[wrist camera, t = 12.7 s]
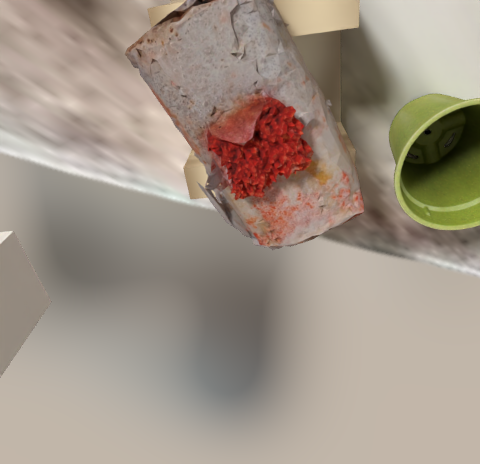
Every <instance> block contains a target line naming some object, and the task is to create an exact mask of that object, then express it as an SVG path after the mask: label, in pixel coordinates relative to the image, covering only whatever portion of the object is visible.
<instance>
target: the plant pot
mask: <svg viewBox="0 0 480 464" xmlns="http://www.w3.org/2000/svg"><path fill="white" fill-rule="evenodd" d="M427 129H429V130H431V132H430V134H429V135H426V134H425V133H424V132H425V130H427ZM453 133H455V136H454V139H453V141H452V142H451V144H450V145H449V146H447V147H444V145H445V144H446V143H447V141H448V140H449V139H450V138H451V136H452V135H453ZM389 142H390V147H391V150H392V153H393V156H394V159H395V163H396V168H395V173H394V189H395V193H396V197H397V199H398V202H399V204H400V206H401V207H402V209H403V210H404V211H405V212H406V214H407V215H408V216H409V217H411V218H412V219H413V220H415V221H416V222H418V223H420V224H422V225H425V226H427V227H430V228H434V229H439V230H462V229H467V228H472V227H475V226H479V225H480V98H476V99H470V100H463V99H459V98H455V97H451V96H447V95H442V94H428V95H425V96H422V97H420V98H417V99H415V100H413V101H411V102H409V103H408V104H406V105H405V106H404V107H403V108H402V109H401V110H400V111H399V112H398V113H397V115H396V116H395V118H394V120H393V122H392V124H391V127H390V132H389ZM408 152H409V153H411V154H412V155H416V156H419V157H418V158H416V159H413V158H410V157H407V156H406V155H407V153H408Z"/></svg>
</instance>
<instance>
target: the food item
mask: <svg viewBox="0 0 480 464" xmlns="http://www.w3.org/2000/svg"><path fill="white" fill-rule="evenodd" d="M288 25H289V24H286V23H284V20H283V18H282V16H281V14H280V12H279V10H278V9H277V7H276V5H275V3H274V0H186V1H185V2H184V3H183V4H182V5H181V6H179V7H178V8H177V9H175V10H174V11H172V12H170V13H169V14H167V16H166V17H165V18H163V19H162V20H161V21H160V22H158V23H157V24H156V25H155V26H154V27H152V28H151V29H150V30H149V31H148V32H146V33H145V34H144V35H143V36H142V37H141V38H140V39H139V40H138V41H137V42H135V43H134V44H133V45H131V46H130V47H129V48H128V49H127V51H126V53H125V55H126V56H127V57H128V59H129V60H130V61H131V63H132V65H133V66H134V67H135V68H139V71H140V75H141V77H142V78H143V79H144V80H145V82H146V83H147V84H148V86H149V87H150V89H151V90H152V92H153V93H154V95H155V96H156V98H157V99H158V101H159V102H160V104H161V105H162V106H163V108H164V109H165V111H166V112H167V113H168V115H169V116H170V118H171V119H172V121H173V123H174V125H175V126H176V128H177V129H178V130H179V131H180V132H181V133H182V135H183V136H184V138H185V139H186V141H187V142H188V144H189V145H190V146H191V148H192V149H193V150H194V156H196V157H197V158H198V159H199V161H200V162H201V163H203V165H204V167H205V169H206V173H207V175H208V178H207V181H206V184H205V188H204V187H203V186H202V185H201V184H199V183H198V182H197V183H198V185H199V187H200V188H201V190H202V191H203V192H204V193H205V195H206V196H207V197H208V198H209V200H210V201H211V203H212V204H213V205H214V207H215V208H216V209H217V211H218V212H219V213H220V214H221V216H222V217H223V218H224V220H225V221H226V222H227V223H228V224H230V225H231V226H233V227H234V228H236V229H238V230H239V231H240V232H241V233H242V234H243V235H244V236H247V237H250V238H252V239H253V243H254V245H257V246H262V247H265V248H266V247H269V248H270V249H272V250H274V249H276V248H278V249H279V248H281V247H283V246H294V245H297V244H300V243H303V242H306V241H309V240H312V239H314V238H316V237H317V236H319V235H320V234H323V233H325V232H327V231H328V230H330V229H332V228H334V227H337V226H340V225H342V224H344V223H345V222H347V221H349V220H352V219H354V218H355V217H357V216H359V215H360V214H362V213H363V212H364V203H363V198H362V194H361V190H360V183H359V178H358V173H357V170H356V167H355V165H354V162H353V160H352V158H351V155H350V153H349V151H348V148H347V146H346V144H345V142H344V139H343V137H342V135H341V132H340V130H339V128H338V125H337V123H336V121H335V119H334V116H333V114H332V112H331V110H330V108H329V106H328V105H331V106H332V104H331V102H330V100H326V99H325V97H324V95H323V93H322V91H321V89H320V87H319V85H318V83H317V82H316V80H315V78H314V77H313V75H312V74H311V73H310V71H309V70H308V68H307V66H306V64H305V62H304V60H303V57H302V55H301V53H300V52H299V50H298V48H297V46H296V44H295V43H294V42H293V40H292V37H291V35H290V33H289V31H288V29H287V26H288ZM207 183H209V184H208V185H207ZM211 190H213V191H214V192H215V195H216V197H215V196H214V194H213V193H212V191H211ZM217 200H218V201H217Z"/></svg>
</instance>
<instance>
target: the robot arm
mask: <svg viewBox="0 0 480 464" xmlns="http://www.w3.org/2000/svg"><path fill="white" fill-rule="evenodd" d="M50 304H51V300H50V298H49V296H48V294H47V293H46V291H45V289H44V287H43V285H42V283H41V281H40V279H39V278H38V276H37V274H36V272H35V270H34V268H33V266H32V264H31V263H30V261H29V259H28V257H27V255H26V253H25V252H24V250H23V248H22V246H21V244H20V242H19V240H18V238H17V236H16V235H15V233H14V231H9V232H0V377H1V376H2V374H3V373H4V371H5V370H6V368H7V367H8V366H9V364H10V362H11V361H12V360H13V358H14V357H15V355H16V354H17V352H18V351H19V349H20V348H21V346H22V345H23V343H24V342H25V340H26V339H27V337H28V336H29V335H30V333H31V331H32V330H33V329H34V327H35V326H36V324H37V323H38V321H39V320H40V318H41V317H42V315H43V314H44V312H45V311H46V309H47V308H48V306H49V305H50Z"/></svg>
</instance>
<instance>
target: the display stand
mask: <svg viewBox="0 0 480 464" xmlns="http://www.w3.org/2000/svg"><path fill="white" fill-rule="evenodd" d="M170 1H171V4H166V5H162V6H158V7H153V8H149V9H148V14H149V18H150V22H151V27H154V26H155V25H156V24H157V23H158V22H160V21H161V20H162V19H163V18H165V17H166V16H167V14H169V13H170V12H172V11H174V10H175V9H177V8H178V7H179V6H181V5H182V4H183V3H184V2H185V1H186V0H170ZM359 1H360V0H274V3H275V5H276V7H277V9H278V10H279V12H280V14H281V16H282V18H283V20H284V23H286V24H289V25H288V26H287V29H288V31H289V33H290V35H291V37H292V40H293V42H294V43H295V44H296V46H297V48H298V50H299V52H300V53H301V55H302V57H303V60H304V62H305V64H306V66H307V68H308V70H309V71H310V73H311V74H312V75H313V77H314V78H315V80H316V82H317V83H318V85H319V87H320V89H321V91H322V93H323V95H324V97H325V99H326V100H330V102H331V104H332V106H331V105H328V106H329V108H330V110H331V112H332V114H333V116H334V119H335V121H336V123H337V125H338V128H339V130H340V132H341V135H342V137H343V139H344V142H345V144H346V146H347V148H348V151H349V153H350V155H351V158H352V160H353V162H354V165H355V154H356V151H355V149H354V147H353V145H352V143H351V141H350V139H349V137H348V135H347V133H346V131H345V129H344V127H343V125H342V123H341V30H343V29H350V28H357V27H359ZM184 173H185V177H186V182H187V186H188V190H189V195H190V199H198V198H208V197H207V196H206V195H205V193H204V192H203V191H202V190H201V188H200V187H199V185H198V183H199V184H201V185H202V186H203V187H204V188H205V184H206V181H207V178H208V175H207V173H206V169H205V167H204V165H203V163H201V162H200V161H199V159H198V158H197V157H196V156H194V150H193V149H192V151H191V153H190V155H189V157H188V160H187V162H186V164H185V166H184ZM197 182H198V183H197ZM208 184H209V183H207V185H208ZM211 191H212V193H213V194H214V196H215V197H216V195H215V192H214V191H213V190H211Z"/></svg>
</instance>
